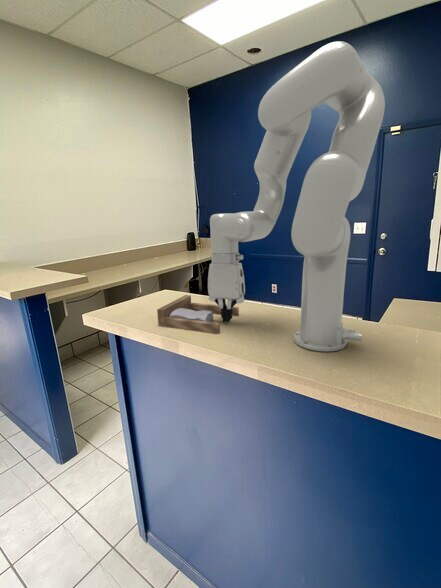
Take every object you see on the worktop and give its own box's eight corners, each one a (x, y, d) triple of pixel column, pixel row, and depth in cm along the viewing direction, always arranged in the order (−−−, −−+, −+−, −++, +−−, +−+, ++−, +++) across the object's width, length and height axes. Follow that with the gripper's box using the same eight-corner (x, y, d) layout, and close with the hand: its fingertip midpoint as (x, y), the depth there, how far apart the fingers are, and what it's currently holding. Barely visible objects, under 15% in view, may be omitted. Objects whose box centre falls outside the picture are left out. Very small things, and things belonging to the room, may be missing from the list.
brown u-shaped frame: (238, 314, 99) (238, 299, 97) (217, 333, 84) (217, 316, 82) (186, 309, 106) (185, 295, 105) (158, 325, 91) (157, 309, 90)
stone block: (181, 321, 100) (166, 325, 90) (182, 306, 99) (167, 309, 90) (216, 326, 96) (204, 331, 87) (217, 310, 96) (205, 314, 86)
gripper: (254, 257, 87) (255, 319, 92) (206, 256, 93) (209, 314, 97) (246, 261, 80) (247, 327, 85) (195, 260, 86) (198, 322, 91)
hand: (227, 320), depth 91 cm, fingers closed
